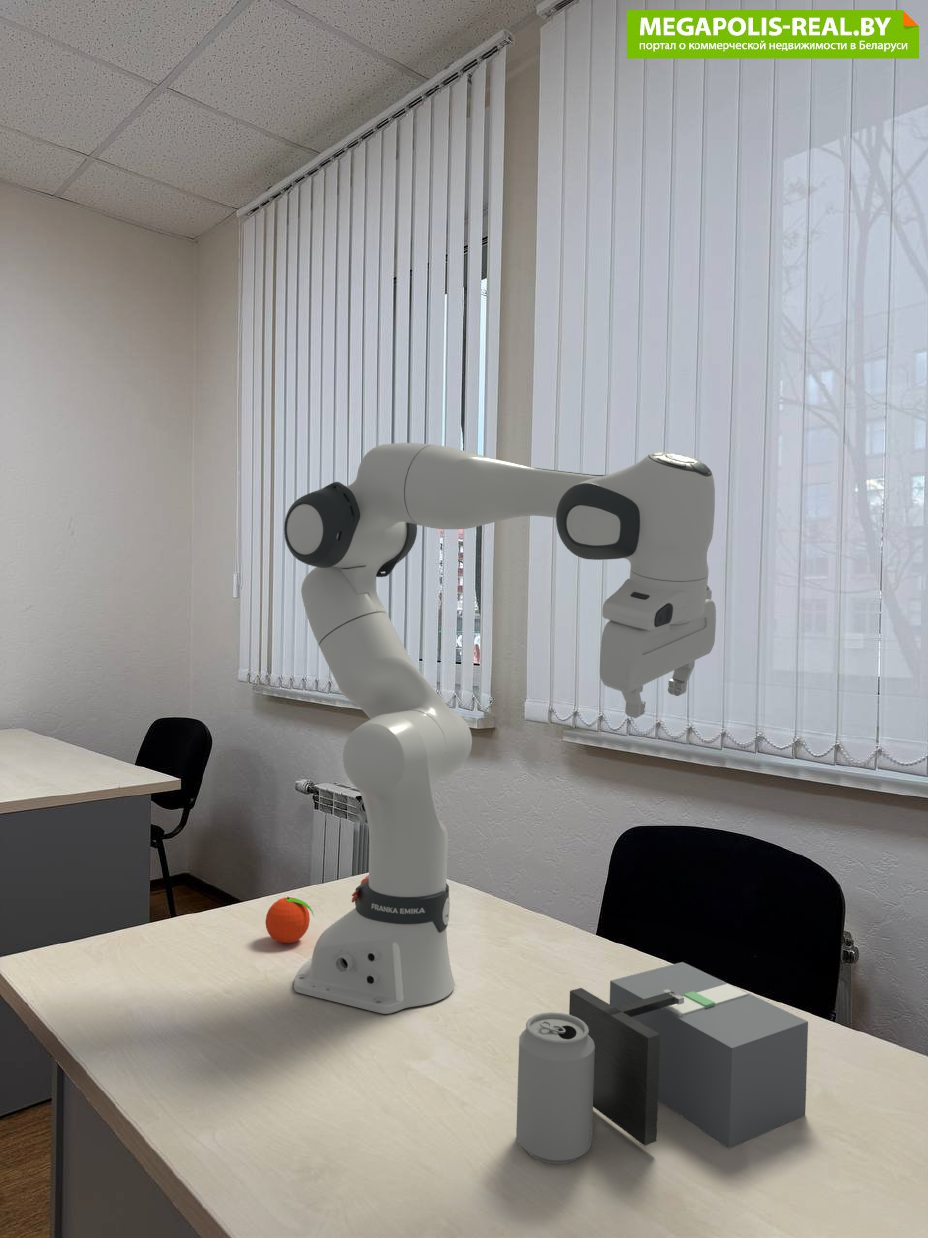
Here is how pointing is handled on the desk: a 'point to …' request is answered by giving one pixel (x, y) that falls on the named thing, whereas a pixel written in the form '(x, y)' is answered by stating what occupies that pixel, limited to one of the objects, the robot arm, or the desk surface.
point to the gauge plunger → (624, 1060)
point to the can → (555, 1088)
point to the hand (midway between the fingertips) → (656, 704)
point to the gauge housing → (722, 1053)
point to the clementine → (288, 920)
